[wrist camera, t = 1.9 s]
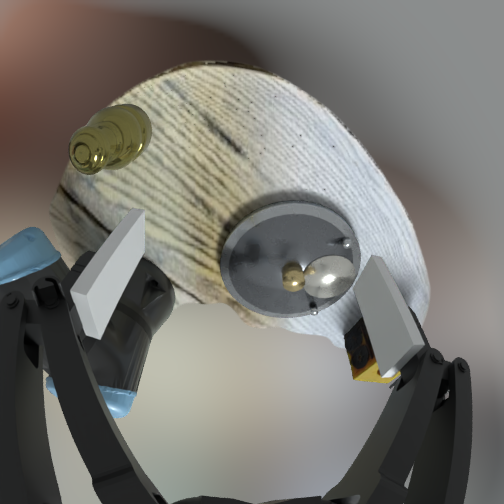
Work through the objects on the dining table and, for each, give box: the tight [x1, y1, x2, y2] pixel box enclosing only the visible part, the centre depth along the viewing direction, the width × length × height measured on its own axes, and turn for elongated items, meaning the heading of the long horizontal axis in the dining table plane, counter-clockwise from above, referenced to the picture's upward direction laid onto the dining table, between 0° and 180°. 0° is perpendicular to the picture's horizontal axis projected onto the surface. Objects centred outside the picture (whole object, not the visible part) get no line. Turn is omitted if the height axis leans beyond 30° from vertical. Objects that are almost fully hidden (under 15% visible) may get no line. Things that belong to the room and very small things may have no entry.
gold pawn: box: [69, 104, 152, 175], centre depth 24 cm, size 7×7×10 cm
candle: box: [344, 317, 401, 383], centre depth 43 cm, size 10×10×10 cm
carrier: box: [220, 201, 361, 318], centre depth 37 cm, size 20×20×4 cm
